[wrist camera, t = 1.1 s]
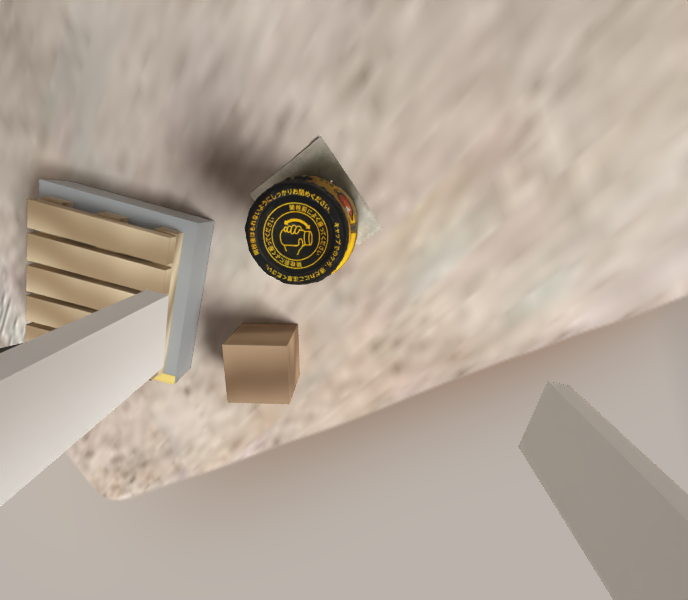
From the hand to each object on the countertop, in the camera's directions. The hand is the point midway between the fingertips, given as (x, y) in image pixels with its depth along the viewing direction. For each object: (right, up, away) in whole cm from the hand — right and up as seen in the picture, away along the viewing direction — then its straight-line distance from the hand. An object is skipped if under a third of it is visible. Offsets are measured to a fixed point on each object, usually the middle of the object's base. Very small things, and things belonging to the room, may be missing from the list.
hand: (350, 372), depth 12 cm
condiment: (-2, +10, +17) cm, 20 cm away
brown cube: (-7, -2, +20) cm, 21 cm away
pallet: (-19, +3, +16) cm, 25 cm away
